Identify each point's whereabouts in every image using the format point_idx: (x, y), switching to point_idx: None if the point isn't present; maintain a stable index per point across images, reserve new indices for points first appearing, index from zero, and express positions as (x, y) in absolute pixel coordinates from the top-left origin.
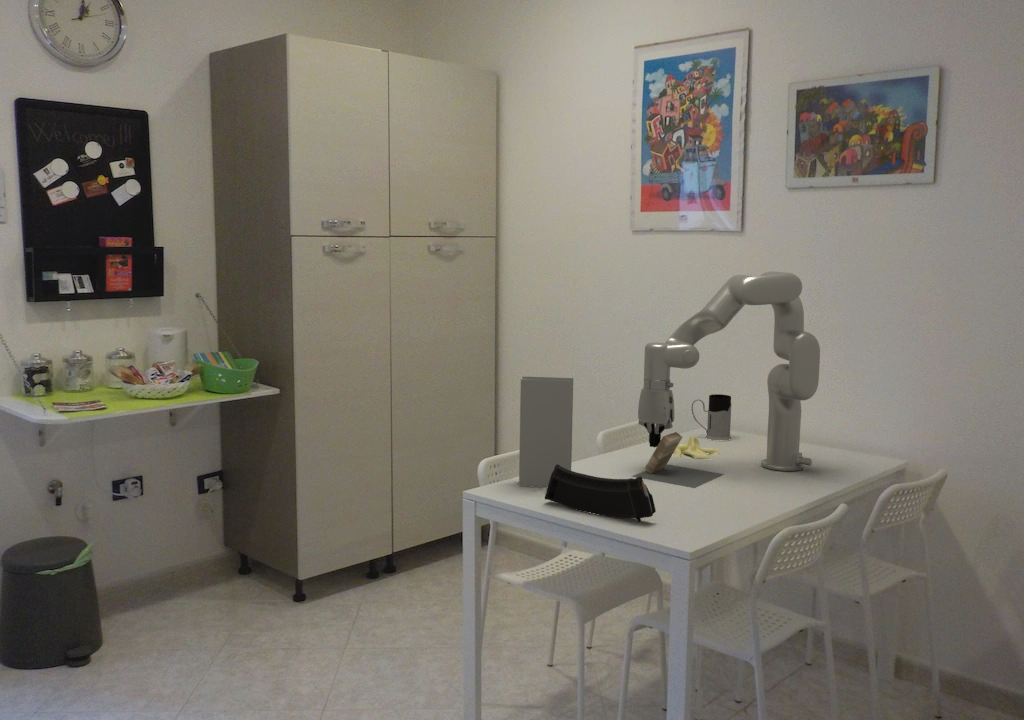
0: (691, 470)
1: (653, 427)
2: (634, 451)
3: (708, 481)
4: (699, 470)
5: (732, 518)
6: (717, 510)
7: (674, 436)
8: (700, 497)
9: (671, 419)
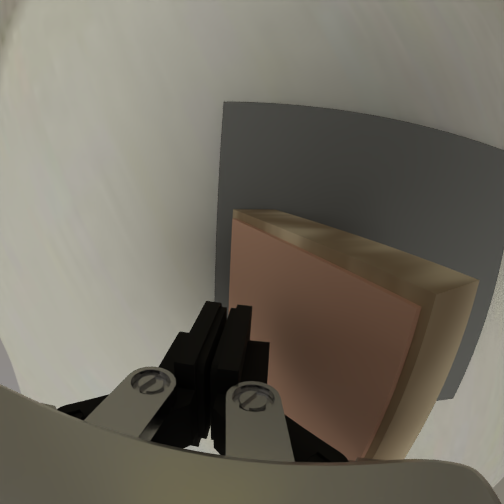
0: (402, 160)
1: (147, 419)
2: (48, 9)
3: (490, 302)
4: (430, 139)
5: (494, 470)
6: (481, 463)
7: (425, 395)
8: (461, 432)
9: (449, 490)
